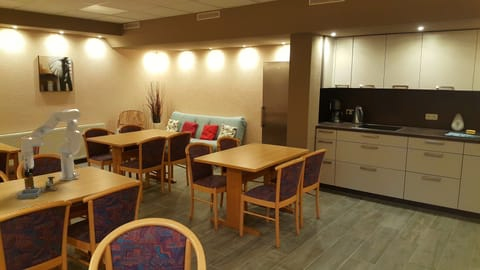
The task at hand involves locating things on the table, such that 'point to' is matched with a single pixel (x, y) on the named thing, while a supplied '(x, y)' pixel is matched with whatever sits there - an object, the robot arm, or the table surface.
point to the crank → (49, 182)
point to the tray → (29, 193)
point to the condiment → (29, 182)
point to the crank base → (46, 189)
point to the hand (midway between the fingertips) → (28, 175)
